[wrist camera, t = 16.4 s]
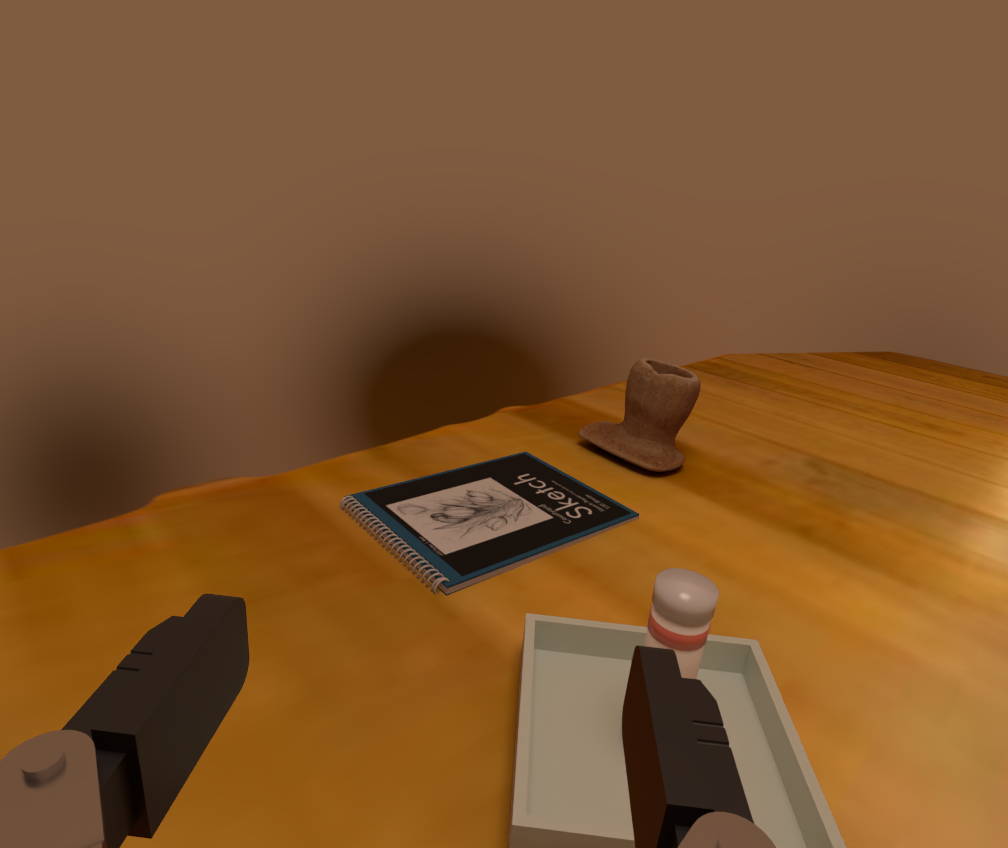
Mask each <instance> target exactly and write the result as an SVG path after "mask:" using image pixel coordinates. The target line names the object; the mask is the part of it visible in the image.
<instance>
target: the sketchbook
mask: <svg viewBox="0 0 1008 848" xmlns="http://www.w3.org/2000/svg"><path fill="white" fill-rule="evenodd" d="M344 500H345V502H344V503H343V504H342V502H343V501H344ZM344 504H345V505H347V506H346V508H345V509H344ZM340 507H341V508H342V509H343V510H345V512H346V513H348V511H347V508H348V507H349V508H350V510H349V516H352V518H353V519H355V518H354V515H355V514H357V517H356V522H357V523H358V517H360V518H361V519H360V526H362V523H361V522H362V520H363V521H364V524H363V528H364V529H366V528H365V525H366V523H367V524H368V527H367V532H368V533H369V527H371V528H372V530H371V536H373V530H374V531H375V532H376V533H375V536H374V537H375V540H377V534H379V535H380V536H379V539H378V541H379V543H381V541H380V539H381V537H382V538H383V539H384V540H383V542H382V545H383V547H385V541H387V542H388V544H387V547H386V548H387V550H389V548H388V547H389V544H390V545H391V546H392V547H391V554H393V549H395V550H396V552H395V558H398V557H397V552H399V553H400V554H401V555H400V556H399V562H402V560H401V557H402V556H403V557H404V558H405V559H404V562H403V565H404V566H406V564H405V563H406V560H408V561H409V564H408V570H411V569H410V565H411V564H412V565H413V566H414V567H413V569H412V573H413V574H415V572H414V571H415V568H417V569H418V570H419V571H418V572H417V578H420V577H419V573H420V572H421V573H422V574H423V576H422V582H423V583H424V577H427V578H428V580H427V583H426V586H427V587H429V581H431V582H432V583H433V584H432V586H431V591H434V593H435V594H437V592H436V588H437V587H438V588H439V589H440V590H441V591H442V592H443V593H444V594H445V595H449V594H451V593H454V592H456V591H459V590H461V589H464V588H466V587H469V586H471V585H474V584H476V583H479V582H481V581H484V580H486V579H489V578H491V577H493V576H496V575H499V574H501V573H504V572H506V571H509V570H511V569H514V568H516V567H519V566H521V565H524V564H526V563H529V562H531V561H534V560H536V559H539V558H541V557H544V556H546V555H549V554H551V553H554V552H556V551H559V550H561V549H564V548H566V547H569V546H571V545H574V544H576V543H579V542H581V541H584V540H586V539H589V538H591V537H594V536H596V535H599V534H601V533H604V532H606V531H609V530H611V529H614V528H616V527H619V526H621V525H624V524H626V523H629V522H631V521H634V520H636V519H638V518H639V514H638V513H636V512H634V511H633V510H631V509H629V508H627V507H625V506H624V505H622V504H620V503H618V502H616V501H615V500H613V499H611V498H609V497H607V496H606V495H604V494H602V493H600V492H598V491H596V490H595V489H593V488H591V487H589V486H587V485H586V484H584V483H582V482H580V481H578V480H577V479H575V478H573V477H571V476H569V475H567V474H566V473H564V472H562V471H560V470H558V469H557V468H555V467H553V466H551V465H549V464H548V463H546V462H544V461H542V460H540V459H538V458H537V457H535V456H533V455H531V454H529V453H528V452H522V453H518V454H514V455H510V456H506V457H502V458H498V459H494V460H490V461H486V462H482V463H478V464H474V465H469V466H465V467H461V468H457V469H453V470H449V471H445V472H441V473H437V474H433V475H429V476H425V477H421V478H417V479H413V480H409V481H405V482H400V483H396V484H392V485H388V486H384V487H380V488H376V489H372V490H368V491H364V492H360V493H356V494H352V495H348V496H345V497H344V498H343V499H342V500H341V503H340ZM351 511H353V514H352V515H351ZM434 585H435V587H434ZM433 587H434V590H433Z"/></svg>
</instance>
